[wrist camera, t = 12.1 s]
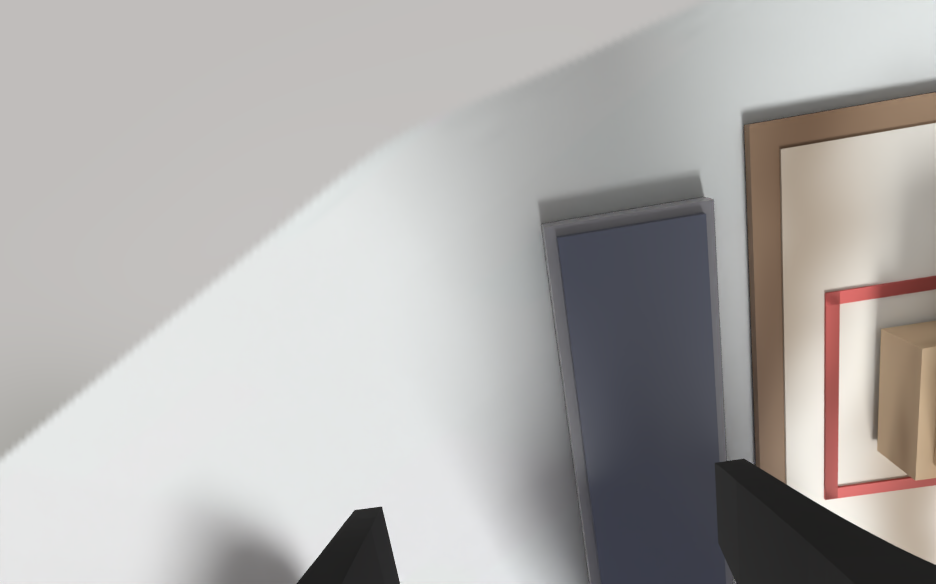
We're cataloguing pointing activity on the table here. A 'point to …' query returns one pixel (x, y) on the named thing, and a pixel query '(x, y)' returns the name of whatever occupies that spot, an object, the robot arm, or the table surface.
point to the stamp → (908, 398)
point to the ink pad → (642, 388)
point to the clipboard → (840, 300)
